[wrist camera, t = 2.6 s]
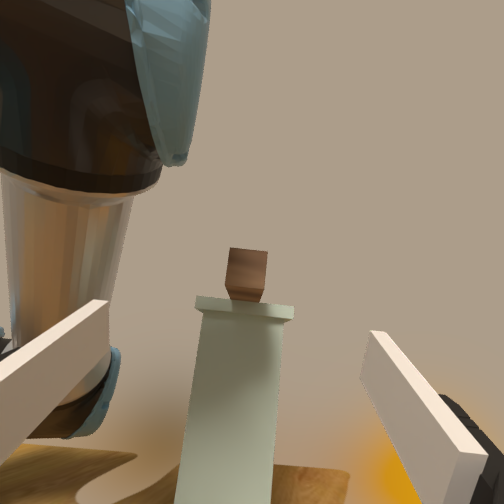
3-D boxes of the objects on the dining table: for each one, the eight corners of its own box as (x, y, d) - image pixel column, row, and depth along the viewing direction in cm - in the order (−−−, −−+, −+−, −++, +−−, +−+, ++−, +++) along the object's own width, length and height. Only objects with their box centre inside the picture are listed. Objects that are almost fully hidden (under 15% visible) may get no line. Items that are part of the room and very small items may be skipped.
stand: (285, 649, 25) (304, 306, 34) (128, 629, 25) (186, 293, 34) (271, 541, 39) (287, 315, 47) (168, 528, 39) (203, 306, 47)
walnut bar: (264, 289, 25) (267, 251, 26) (224, 284, 25) (229, 247, 26) (255, 313, 50) (257, 293, 51) (235, 311, 50) (237, 291, 51)
